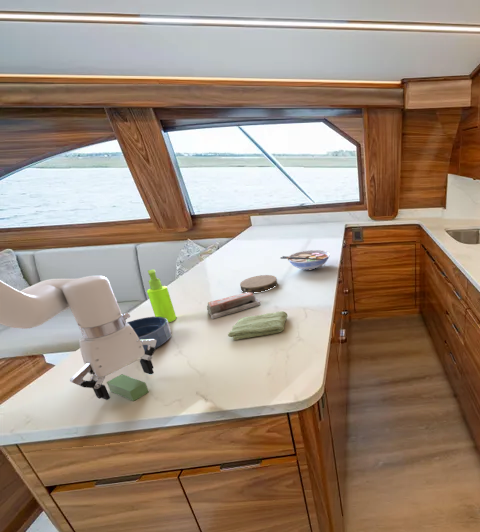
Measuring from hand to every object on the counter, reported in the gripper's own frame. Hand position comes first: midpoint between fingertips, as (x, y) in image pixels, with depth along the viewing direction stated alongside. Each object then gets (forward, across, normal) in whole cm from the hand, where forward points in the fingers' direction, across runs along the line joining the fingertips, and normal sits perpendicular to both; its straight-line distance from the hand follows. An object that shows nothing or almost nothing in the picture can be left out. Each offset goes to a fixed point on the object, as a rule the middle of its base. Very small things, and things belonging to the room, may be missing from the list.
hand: (128, 384), depth 77 cm
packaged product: (+3, -45, -15) cm, 47 cm away
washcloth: (+3, -36, +8) cm, 37 cm away
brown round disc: (+3, -66, -23) cm, 70 cm away
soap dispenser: (+2, -29, -32) cm, 43 cm away
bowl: (+2, -15, -22) cm, 27 cm away
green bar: (+2, 0, 0) cm, 2 cm away
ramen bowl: (+3, -96, -16) cm, 98 cm away
